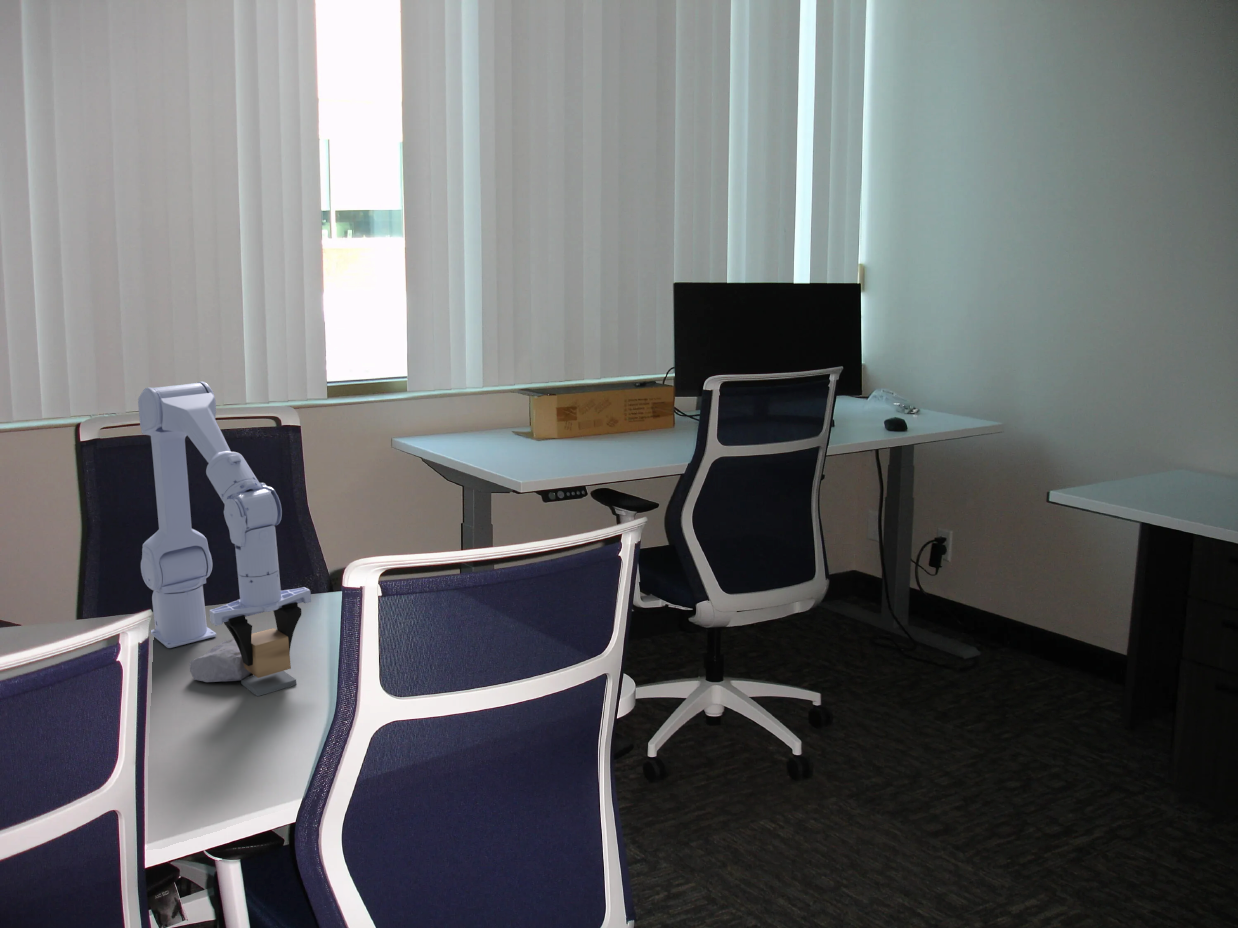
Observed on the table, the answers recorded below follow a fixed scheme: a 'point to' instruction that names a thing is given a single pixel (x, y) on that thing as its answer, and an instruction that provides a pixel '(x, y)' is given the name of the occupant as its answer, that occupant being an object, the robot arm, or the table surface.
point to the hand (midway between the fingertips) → (266, 658)
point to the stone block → (220, 664)
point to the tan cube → (269, 653)
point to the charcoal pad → (268, 683)
